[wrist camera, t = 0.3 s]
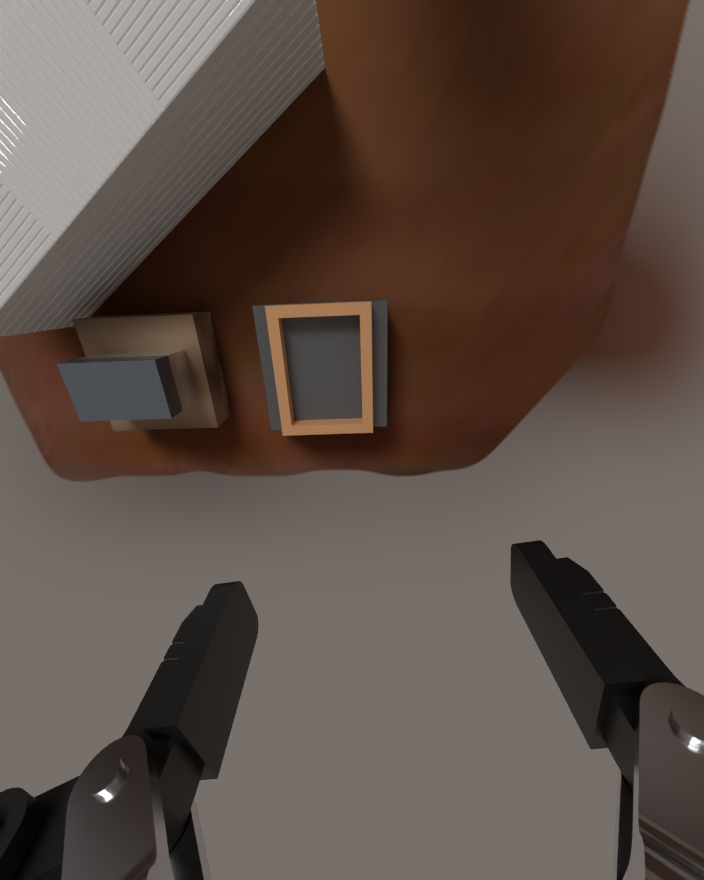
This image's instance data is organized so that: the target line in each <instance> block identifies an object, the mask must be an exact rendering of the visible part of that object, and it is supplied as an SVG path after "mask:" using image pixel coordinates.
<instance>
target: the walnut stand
mask: <svg viewBox="0 0 704 880" xmlns="http://www.w3.org/2000/svg"><path fill="white" fill-rule="evenodd" d="M72 321H73V323H74V326H75V329H76V331H77V334H78V337H79V340H80V342H81V345H82V348H83V350H84V353H85V356H89V355H93V354H97V353H103V352H129V351H154V350H180V349H184V351H185V355H186V359H187V363H188V367H189V371H190V375H191V379H192V383H193V387H194V391H195V395H196V399H197V401H195V402H194V403H193V404H191V405H190V406H188V407H187V408H186V409H184V410H183V411H181V412H180V413H179V414H177V415H176V416H174V417H173V418H171V419H142V420H113V421H110V422H111V425H112V428H113V430H114V431H132V430H162V429H191V428H218V427H219V426H220V425H221V424H222V423H223V422H224V421H225V420H226V419H227V418H228V417H229V416H230V415H231V411H230V406H229V401H228V397H227V392H226V387H225V382H224V377H223V372H222V367H221V363H220V358H219V353H218V348H217V343H216V338H215V333H214V329H213V324H212V319H211V314H210V312H187V313H163V314H139V315H115V316H98V317H90V318H81V319H72Z"/></svg>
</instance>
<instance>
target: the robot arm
mask: <svg viewBox="0 0 704 880" xmlns="http://www.w3.org/2000/svg"><path fill="white" fill-rule="evenodd" d="M511 588H512V592H513V596H514V599H515V602H516V604H517V606H518V608H519V610H520V612H521V614H522V616H523V618H524V620H525V622H526V624H527V626H528V628H529V630H530V632H531V634H532V636H533V638H534V639H535V641H536V643H537V645H538V647H539V649H540V651H541V653H542V655H543V657H544V659H545V661H546V663H547V665H548V667H549V669H550V671H551V673H552V675H553V677H554V679H555V681H556V682H557V684H558V686H559V688H560V690H561V692H562V694H563V696H564V698H565V700H566V702H567V704H568V706H569V708H570V710H571V712H572V714H573V716H574V718H575V719H576V721H577V723H578V725H579V727H580V729H581V731H582V733H583V735H584V737H585V739H586V741H587V743H588V745H589V747H590V749H599V748H608V749H609V750H610V752H611V754H612V756H613V758H614V760H615V761H616V763H617V765H618V767H619V772H618V788H617V808H616V828H615V848H614V867H613V880H704V696H703V695H702V694H700V693H698V692H696V691H694V690H692V689H690V688H687V687H685V686H684V685H683V684H682V683H681V682H680V681H679V680H678V679H677V678H676V677H675V676H674V675H673V674H672V672H671V671H670V670H669V669H668V668H667V666H666V665H665V664H664V663H663V662H662V660H661V659H660V658H659V657H658V656H657V654H656V653H655V652H654V651H653V650H652V648H651V647H650V646H649V645H648V643H647V642H646V641H645V640H644V639H643V637H642V636H641V635H640V634H639V632H638V631H637V630H636V629H635V628H634V626H633V625H632V624H631V623H630V622H629V620H628V619H627V618H626V617H625V615H624V614H623V613H622V612H621V611H620V609H617V608H616V605H615V603H614V602H613V601H612V600H611V598H610V597H609V596H608V595H607V594H606V593H604V592H603V589H602V588H601V586H600V585H599V584H598V583H597V582H596V580H595V579H594V578H593V577H592V576H591V574H590V573H589V572H588V571H587V570H585V569H584V568H583V567H581V566H579V565H578V564H576V563H575V562H574V561H572V560H571V559H569V558H568V557H567V558H559V559H556V558H555V556H554V555H553V554H552V552H551V551H550V550H549V548H548V547H547V546H546V544H545V543H544V542H542V541H540V540H539V541H531V542H524V543H517V544H512V546H511ZM257 634H258V618H257V614H256V612H255V609H254V607H253V605H252V603H251V601H250V598H249V596H248V594H247V592H246V590H245V587H244V585H243V584H242V582H240V581H237V582H230V583H222V584H215V585H214V586H212V588H211V590H210V591H209V593H208V595H207V597H206V599H205V602H204V604H203V605H199V606H196V607H195V609H194V610H193V611H192V612H191V613H190V614H189V615H188V617H187V618H186V619H185V620H184V621H183V622H182V624H181V626H180V628H179V630H178V632H177V633H176V636H175V637H174V639H173V642H172V646H170V647H169V649H168V651H167V653H166V655H165V657H164V662H162V663H161V665H160V666H159V669H158V670H157V672H156V674H155V676H154V678H153V680H152V682H151V684H150V686H149V688H148V690H147V692H146V694H145V696H144V698H143V700H142V701H141V703H140V705H139V707H138V709H137V711H136V713H135V715H134V717H133V719H132V721H131V723H130V725H129V726H128V728H127V730H126V732H125V733H124V735H123V736H122V737H121V738H119V739H117V740H115V741H113V742H112V743H110V744H109V745H107V746H106V747H105V748H104V749H102V750H101V751H100V752H99V753H98V754H97V755H96V756H95V757H94V758H93V759H92V760H91V762H90V763H89V764H88V765H87V767H86V768H85V769H84V771H83V772H82V773H81V775H80V776H78V777H76V778H74V779H72V780H70V781H67V782H65V783H63V784H61V785H59V786H57V787H55V788H53V789H51V790H49V791H47V792H45V793H43V794H40V795H38V796H36V797H33V796H31V795H30V794H29V793H27V792H26V791H25V790H23V789H21V788H11V789H7V790H5V791H3V792H0V880H212V879H211V874H210V869H209V864H208V860H207V854H206V849H205V844H204V840H203V834H202V829H201V825H200V820H199V815H198V810H197V805H196V802H195V800H194V797H195V794H196V790H197V787H198V784H199V781H200V780H207V779H217V778H218V774H219V771H220V767H221V764H222V760H223V756H224V753H225V749H226V746H227V742H228V739H229V735H230V732H231V728H232V724H233V721H234V717H235V714H236V710H237V706H238V703H239V699H240V696H241V692H242V689H243V685H244V681H245V678H246V674H247V671H248V667H249V663H250V660H251V656H252V653H253V649H254V645H255V642H256V639H257Z"/></svg>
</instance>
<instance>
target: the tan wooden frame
mask: <svg viewBox="0 0 704 880" xmlns="http://www.w3.org/2000/svg"><path fill="white" fill-rule="evenodd" d="M252 308H253V315H254V321H255V328H256V334H257V341H258V347H259V353H260V360H261V366H262V373H263V379H264V386H265V392H266V399H267V405H268V412H269V418H270V425H271V430H282V433H283V436H288V435H318V434H348V433H373V427H383V426H387V324H388V300H386V299H368V300H345V301H321V302H297V303H273V304H260V305H255V306H252Z"/></svg>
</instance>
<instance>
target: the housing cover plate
mask: <svg viewBox="0 0 704 880" xmlns="http://www.w3.org/2000/svg"><path fill="white" fill-rule="evenodd" d="M57 366H58V368H59V371H60V373H61V375H62V378H63V380H64V383H65V385H66V388H67V390H68V392H69V395H70V397H71V400H72V402H73V404H74V407H75V409H76V412H77V414H78V416H79V419H80V421H81V422H84V421H113V420H142V419H171V418H173V417H174V416H176V415H177V414H179V413H180V412H181V411H183V410H182V406H181V403H180V399H179V395H178V392H177V388H176V384H175V380H174V377H173V373H172V369H171V366H170V362H169V358H168V355H163V356H137V357H111V358H85V359H73V360H69V361H66V362H62V363H58V364H57Z"/></svg>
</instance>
